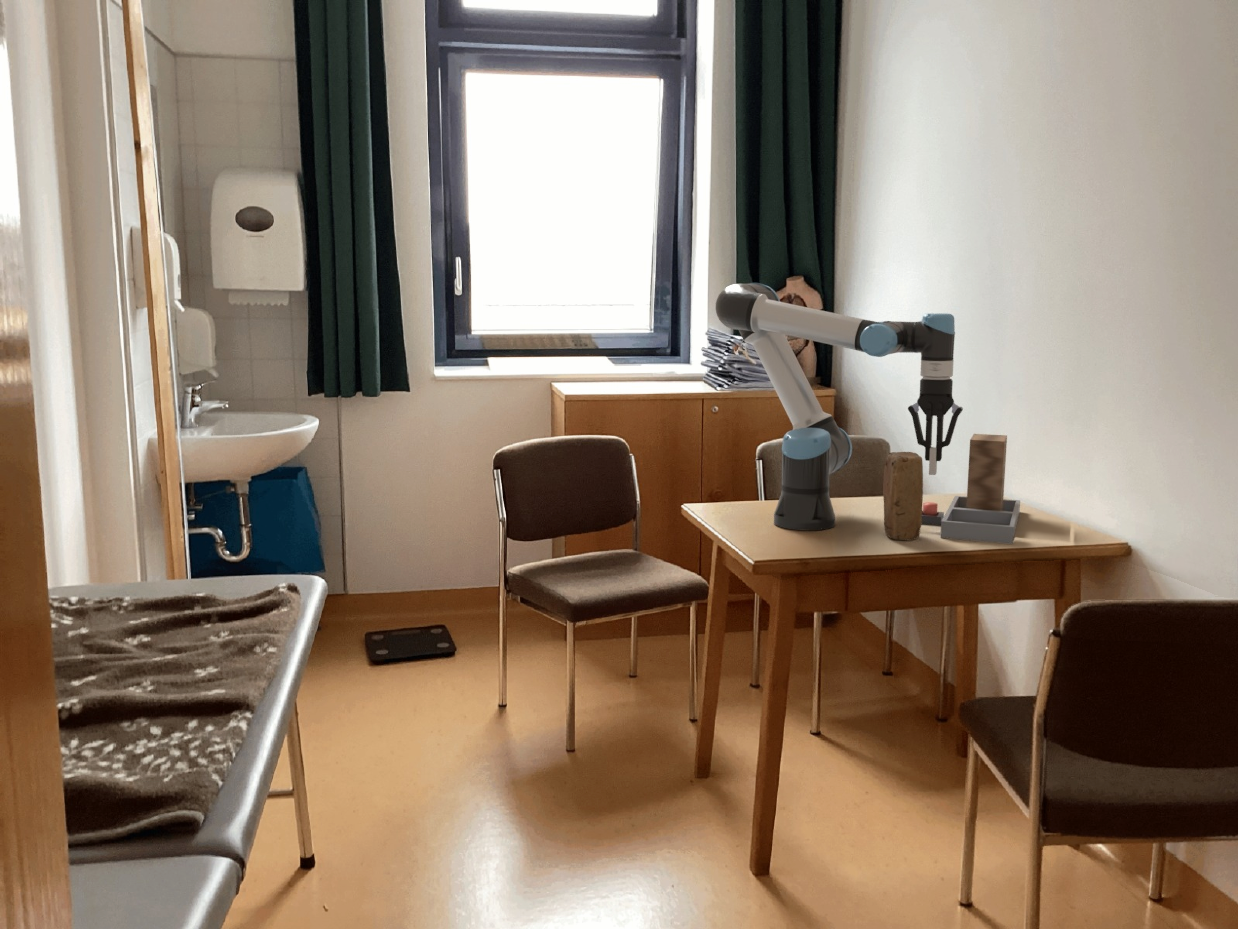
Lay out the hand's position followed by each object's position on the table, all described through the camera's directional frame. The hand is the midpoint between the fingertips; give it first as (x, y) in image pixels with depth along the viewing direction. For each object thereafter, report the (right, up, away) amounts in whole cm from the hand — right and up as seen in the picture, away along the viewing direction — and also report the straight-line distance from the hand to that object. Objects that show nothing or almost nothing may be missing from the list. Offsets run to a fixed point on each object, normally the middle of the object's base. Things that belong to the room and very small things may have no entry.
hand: (932, 473), depth 257 cm
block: (-10, -15, -8) cm, 20 cm away
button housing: (0, -13, +2) cm, 13 cm away
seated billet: (+16, -11, +8) cm, 21 cm away
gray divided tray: (+12, -13, +1) cm, 18 cm away
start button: (0, -11, +2) cm, 11 cm away
